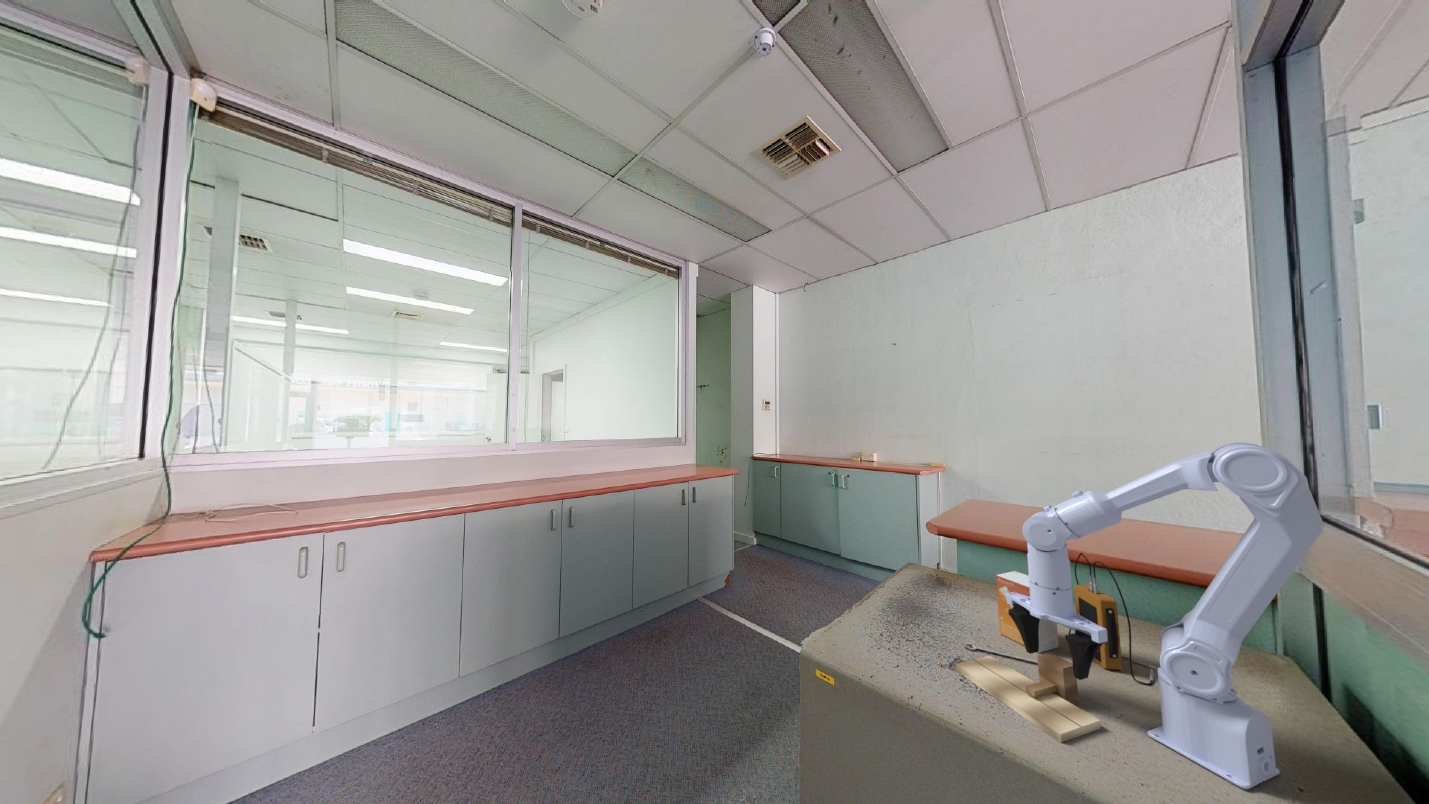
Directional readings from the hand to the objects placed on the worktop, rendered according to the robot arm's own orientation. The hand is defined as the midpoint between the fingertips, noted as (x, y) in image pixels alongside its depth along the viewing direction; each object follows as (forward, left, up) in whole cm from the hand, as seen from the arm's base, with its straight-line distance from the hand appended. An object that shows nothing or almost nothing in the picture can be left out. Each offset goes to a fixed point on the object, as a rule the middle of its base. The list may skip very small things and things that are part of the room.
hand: (1055, 664), depth 68 cm
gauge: (0, +2, -5) cm, 6 cm away
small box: (+14, -13, -6) cm, 20 cm away
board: (+2, +6, -5) cm, 8 cm away
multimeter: (+3, -22, -6) cm, 23 cm away
